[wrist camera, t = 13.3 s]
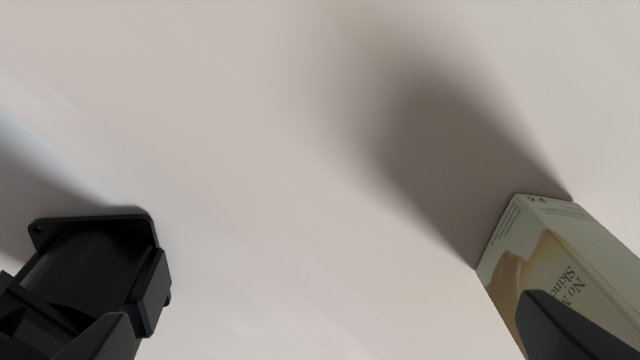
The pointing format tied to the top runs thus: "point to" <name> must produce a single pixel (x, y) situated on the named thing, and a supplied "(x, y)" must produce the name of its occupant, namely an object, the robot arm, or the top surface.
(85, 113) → the top surface
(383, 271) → the top surface
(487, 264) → the skincare box
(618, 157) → the top surface
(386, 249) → the top surface
